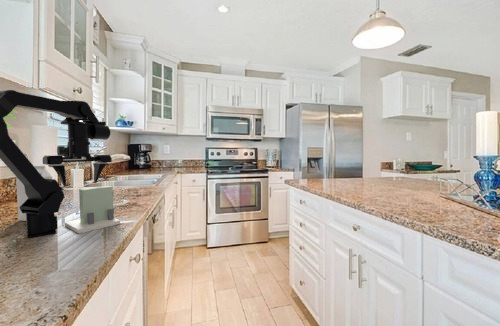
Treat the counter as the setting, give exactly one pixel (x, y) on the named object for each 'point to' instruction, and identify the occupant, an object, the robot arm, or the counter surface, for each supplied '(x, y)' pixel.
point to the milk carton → (22, 195)
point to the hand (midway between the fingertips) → (80, 184)
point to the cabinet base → (92, 223)
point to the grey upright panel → (95, 203)
